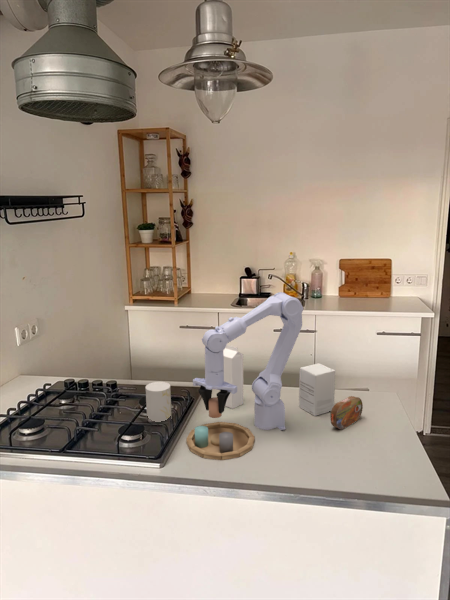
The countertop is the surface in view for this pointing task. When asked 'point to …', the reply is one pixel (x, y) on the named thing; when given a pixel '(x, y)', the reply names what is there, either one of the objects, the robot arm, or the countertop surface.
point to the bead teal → (201, 436)
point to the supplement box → (316, 389)
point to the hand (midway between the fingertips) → (215, 410)
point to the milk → (233, 374)
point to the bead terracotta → (214, 408)
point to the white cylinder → (158, 401)
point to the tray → (241, 441)
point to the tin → (346, 412)
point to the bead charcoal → (225, 442)
